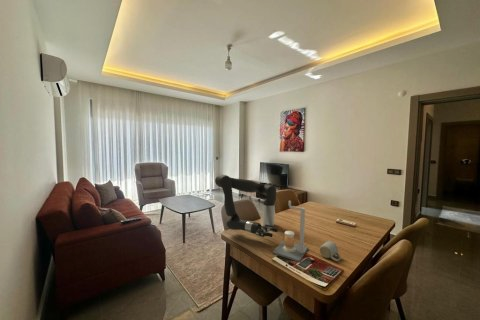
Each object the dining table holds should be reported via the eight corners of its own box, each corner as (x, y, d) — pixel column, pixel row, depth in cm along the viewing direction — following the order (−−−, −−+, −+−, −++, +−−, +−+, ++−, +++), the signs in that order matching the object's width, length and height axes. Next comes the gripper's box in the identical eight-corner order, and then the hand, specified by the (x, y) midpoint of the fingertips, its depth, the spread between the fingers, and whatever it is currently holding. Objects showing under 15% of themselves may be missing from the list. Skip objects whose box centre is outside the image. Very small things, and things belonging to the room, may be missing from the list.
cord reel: (286, 245, 127) (286, 229, 127) (295, 247, 124) (295, 232, 123) (282, 249, 122) (283, 233, 122) (292, 252, 119) (292, 235, 118)
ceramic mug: (318, 255, 118) (319, 243, 117) (325, 251, 123) (326, 239, 123) (336, 264, 110) (337, 250, 109) (343, 258, 115) (343, 246, 114)
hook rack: (283, 241, 135) (284, 196, 133) (307, 248, 126) (309, 200, 124) (272, 253, 119) (273, 202, 118) (299, 262, 111) (301, 207, 109)
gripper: (247, 225, 130) (270, 231, 122) (257, 218, 142) (279, 223, 134) (247, 236, 131) (270, 243, 122) (257, 229, 143) (279, 234, 134)
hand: (275, 233), depth 128 cm, fingers open, 8 cm apart
